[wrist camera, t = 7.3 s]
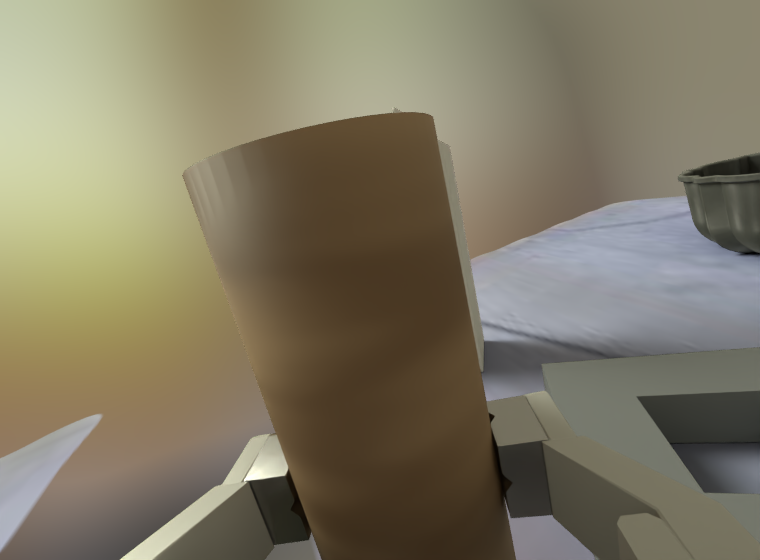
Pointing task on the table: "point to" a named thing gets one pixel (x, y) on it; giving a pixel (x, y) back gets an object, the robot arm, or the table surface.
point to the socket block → (665, 409)
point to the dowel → (360, 334)
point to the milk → (461, 246)
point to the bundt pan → (726, 201)
